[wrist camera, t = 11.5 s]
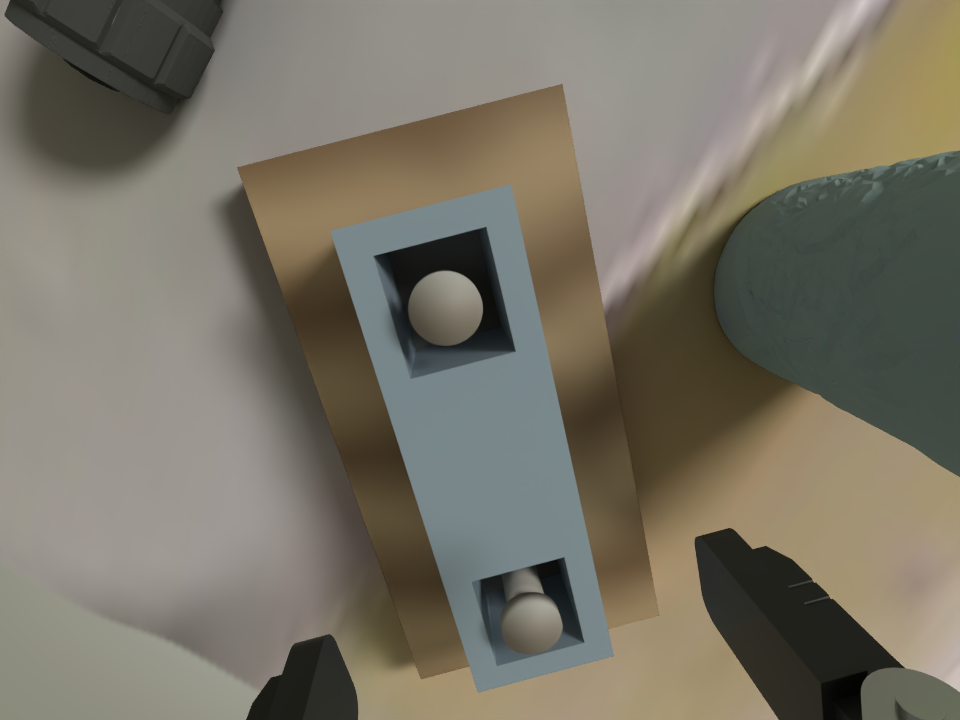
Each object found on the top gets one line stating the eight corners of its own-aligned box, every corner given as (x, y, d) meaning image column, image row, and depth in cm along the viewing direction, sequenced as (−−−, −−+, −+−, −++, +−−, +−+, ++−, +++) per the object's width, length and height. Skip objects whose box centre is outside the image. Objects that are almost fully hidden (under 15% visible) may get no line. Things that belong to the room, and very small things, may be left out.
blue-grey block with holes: (352, 228, 19) (330, 230, 15) (496, 191, 19) (511, 184, 15) (471, 616, 24) (477, 692, 20) (585, 585, 24) (613, 656, 20)
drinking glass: (699, 175, 21) (1005, 121, 10) (927, 145, 22) (1475, 61, 10) (700, 399, 24) (941, 562, 13) (903, 369, 25) (1315, 500, 13)
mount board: (256, 172, 20) (164, 147, 13) (550, 97, 20) (606, 34, 13) (422, 646, 27) (416, 790, 20) (643, 586, 27) (712, 710, 20)
